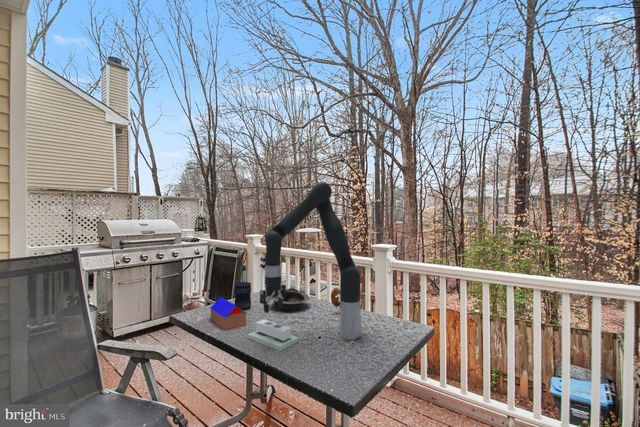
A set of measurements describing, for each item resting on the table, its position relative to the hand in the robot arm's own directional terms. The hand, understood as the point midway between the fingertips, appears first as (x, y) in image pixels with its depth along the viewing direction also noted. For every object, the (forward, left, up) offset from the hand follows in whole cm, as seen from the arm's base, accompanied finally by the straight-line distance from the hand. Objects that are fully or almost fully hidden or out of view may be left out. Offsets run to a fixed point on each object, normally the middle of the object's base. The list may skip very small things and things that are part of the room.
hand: (273, 310), depth 145 cm
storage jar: (+48, -21, -14) cm, 54 cm away
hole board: (0, 0, -14) cm, 14 cm away
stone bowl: (+28, -41, -14) cm, 52 cm away
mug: (-5, -51, -14) cm, 53 cm away
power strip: (0, 0, -14) cm, 14 cm away
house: (+35, -1, -14) cm, 38 cm away
